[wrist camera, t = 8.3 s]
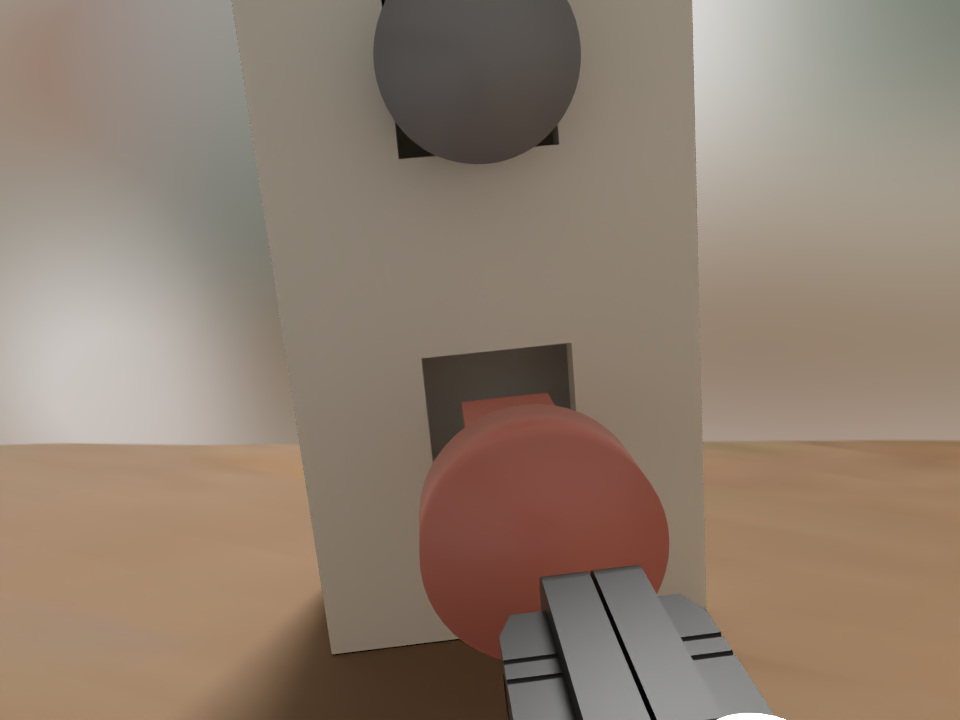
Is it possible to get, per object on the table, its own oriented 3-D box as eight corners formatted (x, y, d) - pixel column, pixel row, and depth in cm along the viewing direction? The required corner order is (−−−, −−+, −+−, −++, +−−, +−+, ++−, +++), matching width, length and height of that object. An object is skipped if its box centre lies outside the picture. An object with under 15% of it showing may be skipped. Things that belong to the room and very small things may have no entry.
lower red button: (673, 649, 17) (665, 421, 16) (433, 679, 17) (406, 450, 16) (600, 510, 24) (591, 342, 22) (428, 530, 23) (409, 361, 22)
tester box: (706, 608, 26) (687, -161, 21) (331, 654, 26) (212, -125, 20) (654, 526, 32) (629, -92, 27) (347, 562, 32) (257, -63, 26)
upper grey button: (586, 154, 20) (574, -66, 19) (386, 173, 20) (360, -48, 19) (545, 154, 27) (533, -9, 26) (393, 168, 27) (375, 5, 26)
